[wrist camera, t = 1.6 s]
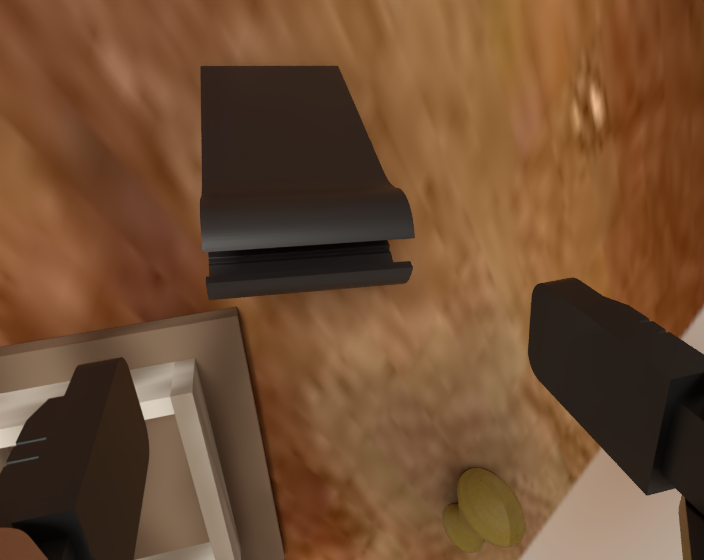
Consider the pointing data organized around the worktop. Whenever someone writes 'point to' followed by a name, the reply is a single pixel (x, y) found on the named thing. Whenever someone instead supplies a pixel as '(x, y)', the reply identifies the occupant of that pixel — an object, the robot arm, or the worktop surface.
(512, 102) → the worktop surface
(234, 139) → the phone stand
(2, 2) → the worktop surface
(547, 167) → the worktop surface
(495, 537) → the knob
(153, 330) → the collar stand
